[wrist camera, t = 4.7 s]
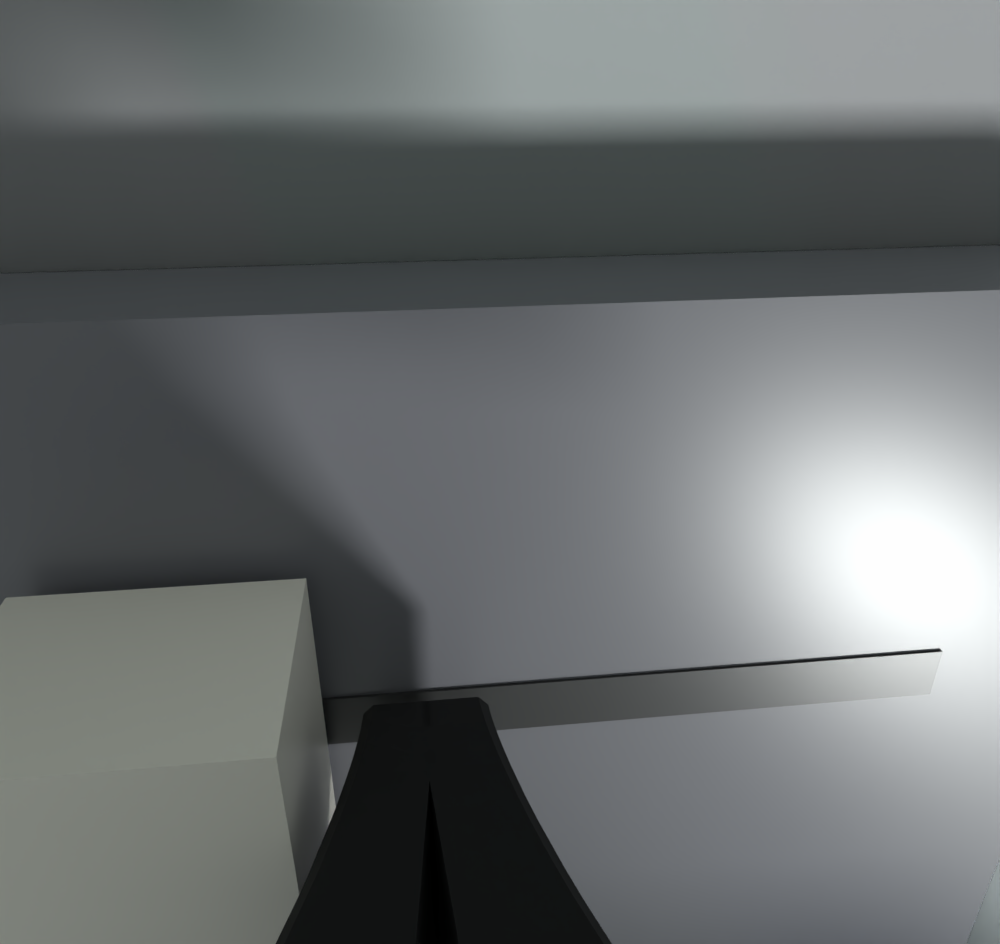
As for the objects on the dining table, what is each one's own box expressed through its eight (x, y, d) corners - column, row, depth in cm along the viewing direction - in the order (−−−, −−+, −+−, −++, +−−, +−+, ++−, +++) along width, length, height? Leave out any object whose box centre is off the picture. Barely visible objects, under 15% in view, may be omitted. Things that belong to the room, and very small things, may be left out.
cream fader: (305, 578, 9) (276, 756, 7) (343, 867, 11) (329, 1080, 9) (5, 598, 8) (-132, 791, 6) (101, 892, 11) (24, 1116, 8)
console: (1085, 242, 11) (1229, 283, 9) (832, 1061, 19) (879, 1170, 17) (-503, 287, 9) (-737, 350, 7) (-18, 1169, 17) (-67, 1303, 15)
